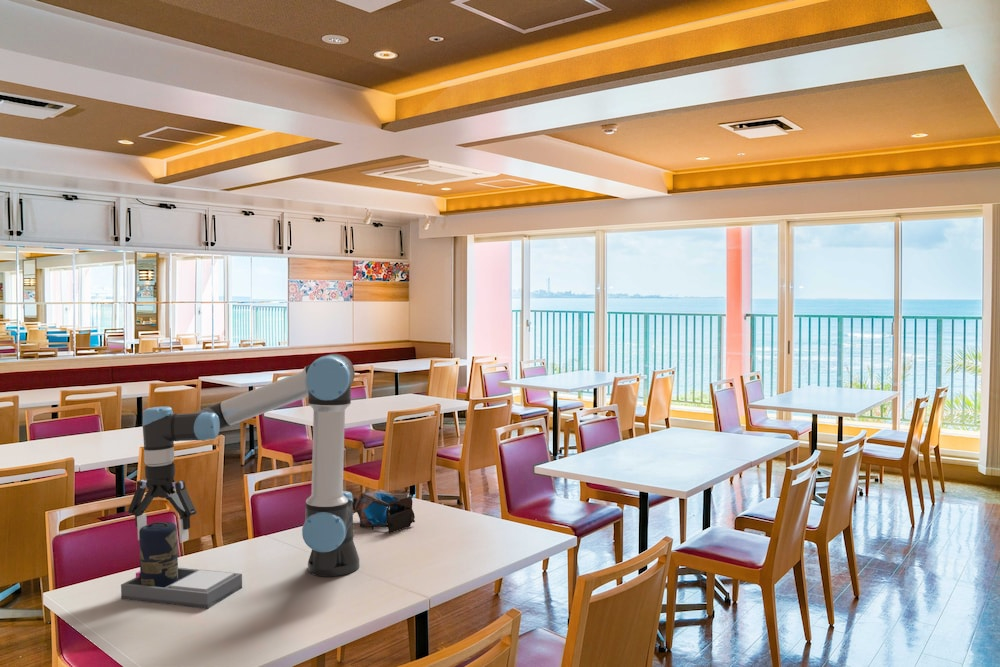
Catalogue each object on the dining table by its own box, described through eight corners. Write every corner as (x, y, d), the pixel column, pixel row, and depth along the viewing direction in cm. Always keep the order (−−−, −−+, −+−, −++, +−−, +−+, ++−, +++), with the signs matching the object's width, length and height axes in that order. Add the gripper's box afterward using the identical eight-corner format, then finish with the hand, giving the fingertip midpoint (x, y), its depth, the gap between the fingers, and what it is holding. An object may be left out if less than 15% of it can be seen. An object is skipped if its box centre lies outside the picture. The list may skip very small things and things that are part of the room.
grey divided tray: (242, 587, 206) (241, 569, 206) (207, 608, 192) (207, 589, 192) (160, 579, 213) (159, 561, 213) (121, 599, 199) (120, 580, 199)
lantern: (404, 547, 260) (353, 532, 274) (425, 506, 268) (374, 494, 282) (381, 526, 249) (329, 511, 263) (403, 484, 257) (351, 472, 271)
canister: (163, 594, 199) (162, 528, 198) (132, 591, 201) (130, 526, 200) (185, 581, 208) (184, 518, 208) (155, 578, 210) (154, 516, 210)
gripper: (207, 461, 204) (210, 537, 204) (131, 459, 210) (135, 533, 211) (189, 467, 196) (193, 546, 197) (111, 465, 203) (115, 541, 204)
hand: (163, 539), depth 204 cm, fingers open, 13 cm apart
